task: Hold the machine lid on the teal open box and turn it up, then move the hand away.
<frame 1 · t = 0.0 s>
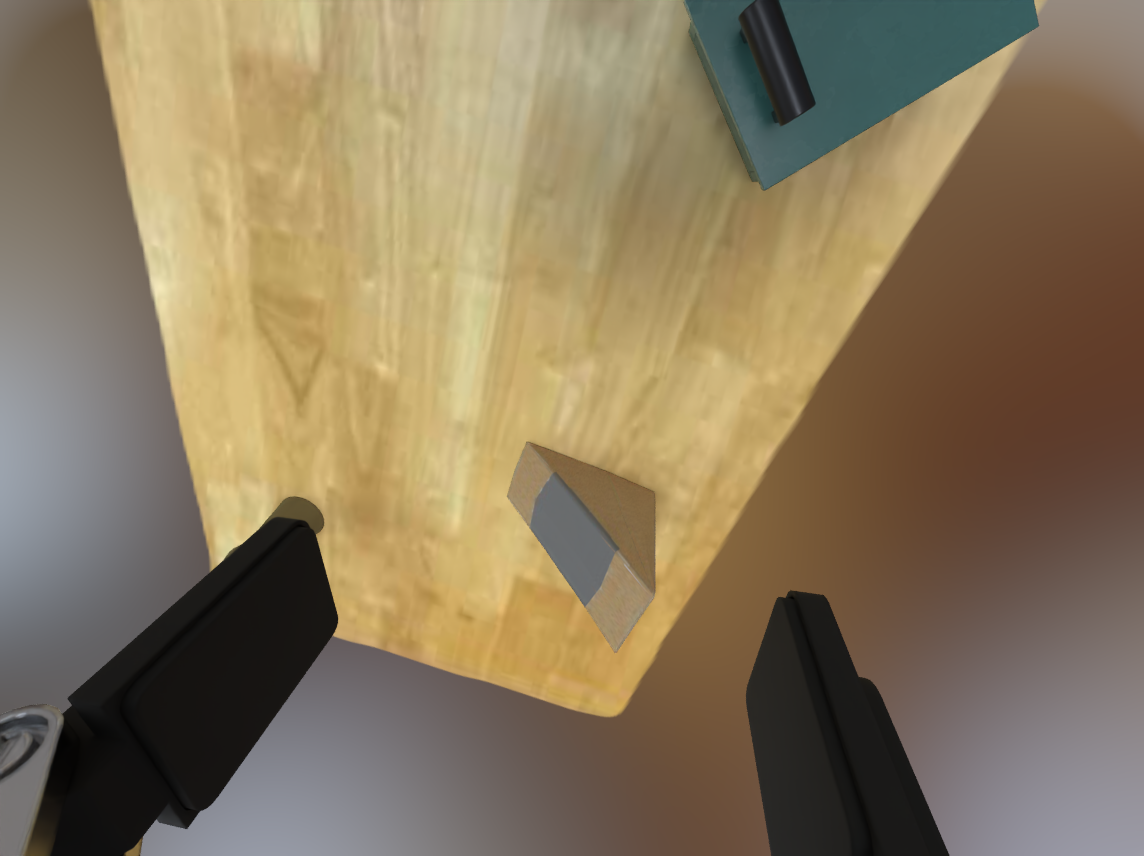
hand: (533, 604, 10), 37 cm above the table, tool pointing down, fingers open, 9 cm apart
machine lid: (869, 0, 24), point 11 cm above the table, hinge at 0.0°
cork: (303, 514, 63), on the table
teal open box: (814, 47, 33), on the table
sandwich container: (578, 493, 54), on the table
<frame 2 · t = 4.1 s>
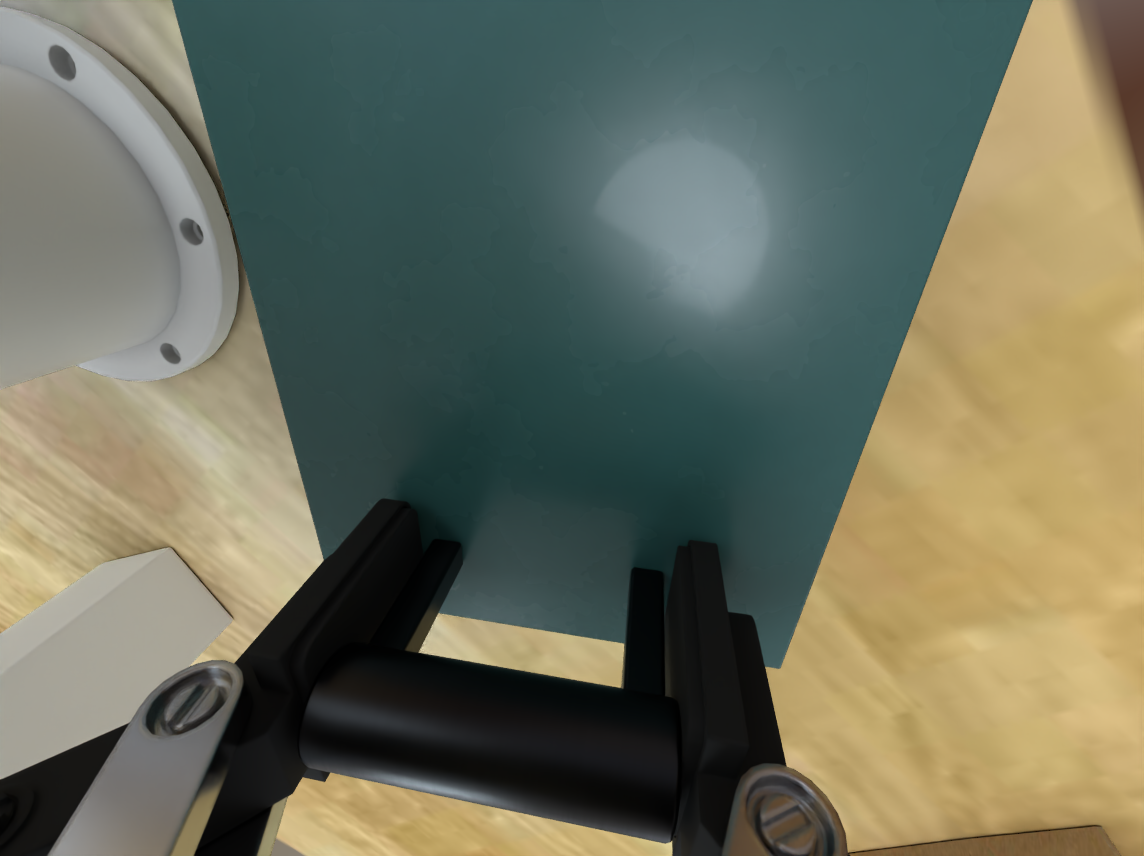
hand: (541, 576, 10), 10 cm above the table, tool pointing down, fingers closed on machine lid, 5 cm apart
machine lid: (521, 393, 7), point 11 cm above the table, hinge at 0.0°, touching gripper
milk: (172, 588, 29), on the table
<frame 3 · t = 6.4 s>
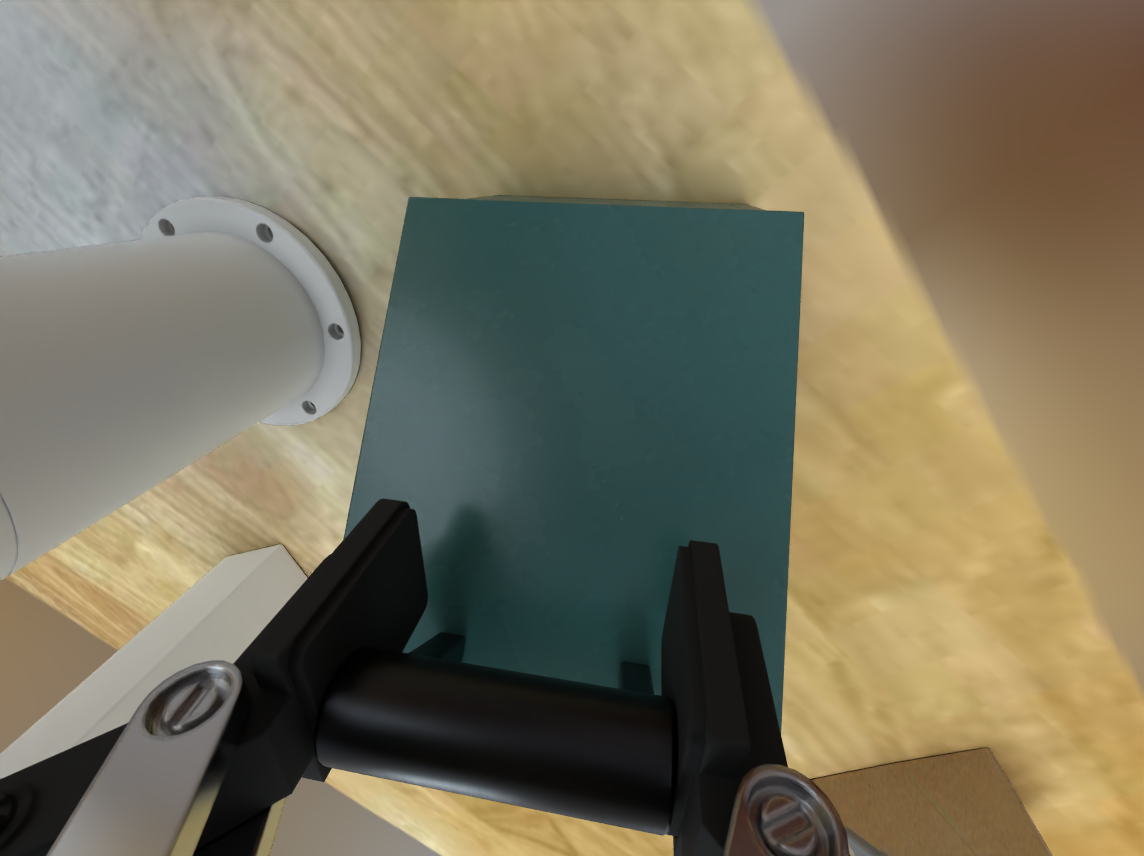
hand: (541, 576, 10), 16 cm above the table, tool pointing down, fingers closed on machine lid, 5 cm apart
machine lid: (554, 446, 10), point 15 cm above the table, hinge at 37.5°, touching gripper
teal open box: (609, 345, 25), on the table
sandwich container: (895, 793, 38), on the table
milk: (277, 576, 38), on the table
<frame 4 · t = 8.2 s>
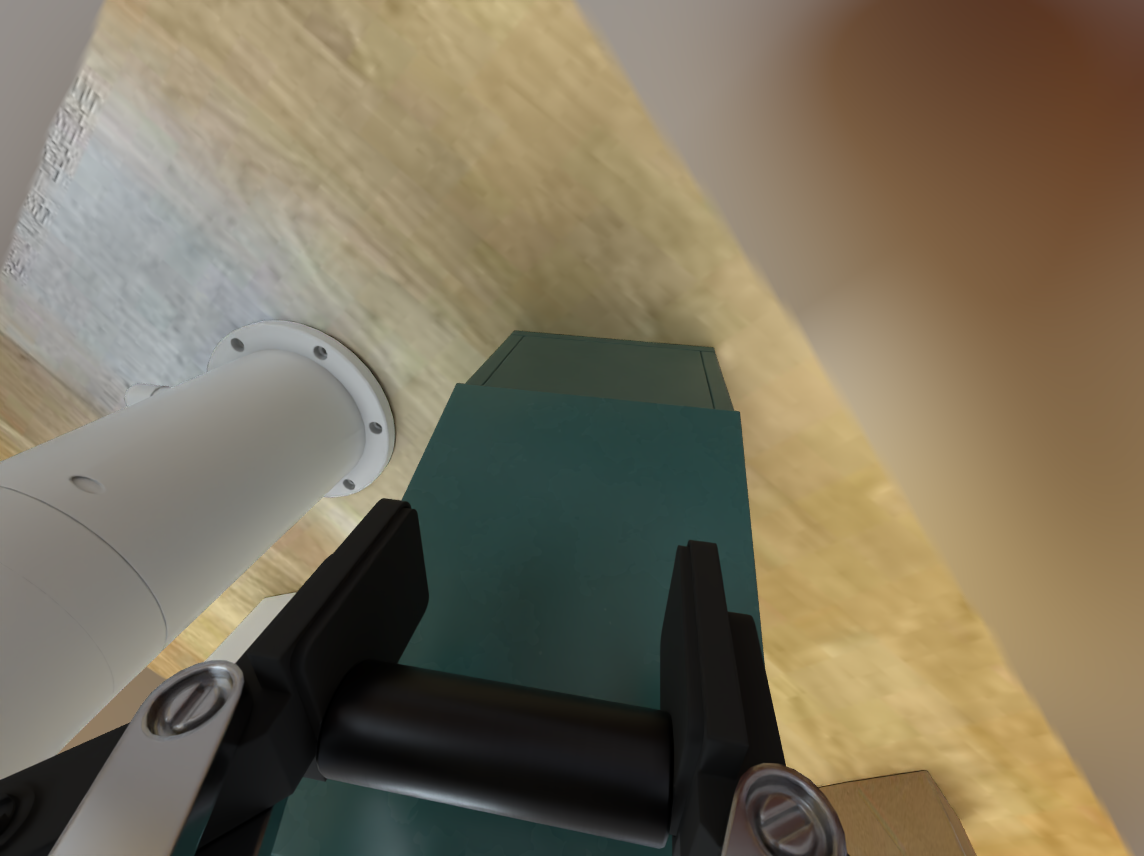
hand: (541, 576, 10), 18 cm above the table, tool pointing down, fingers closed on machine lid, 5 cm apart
machine lid: (558, 534, 13), point 16 cm above the table, hinge at 69.5°, touching gripper
teal open box: (603, 444, 30), on the table
sandwich container: (850, 807, 43), on the table
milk: (309, 615, 43), on the table
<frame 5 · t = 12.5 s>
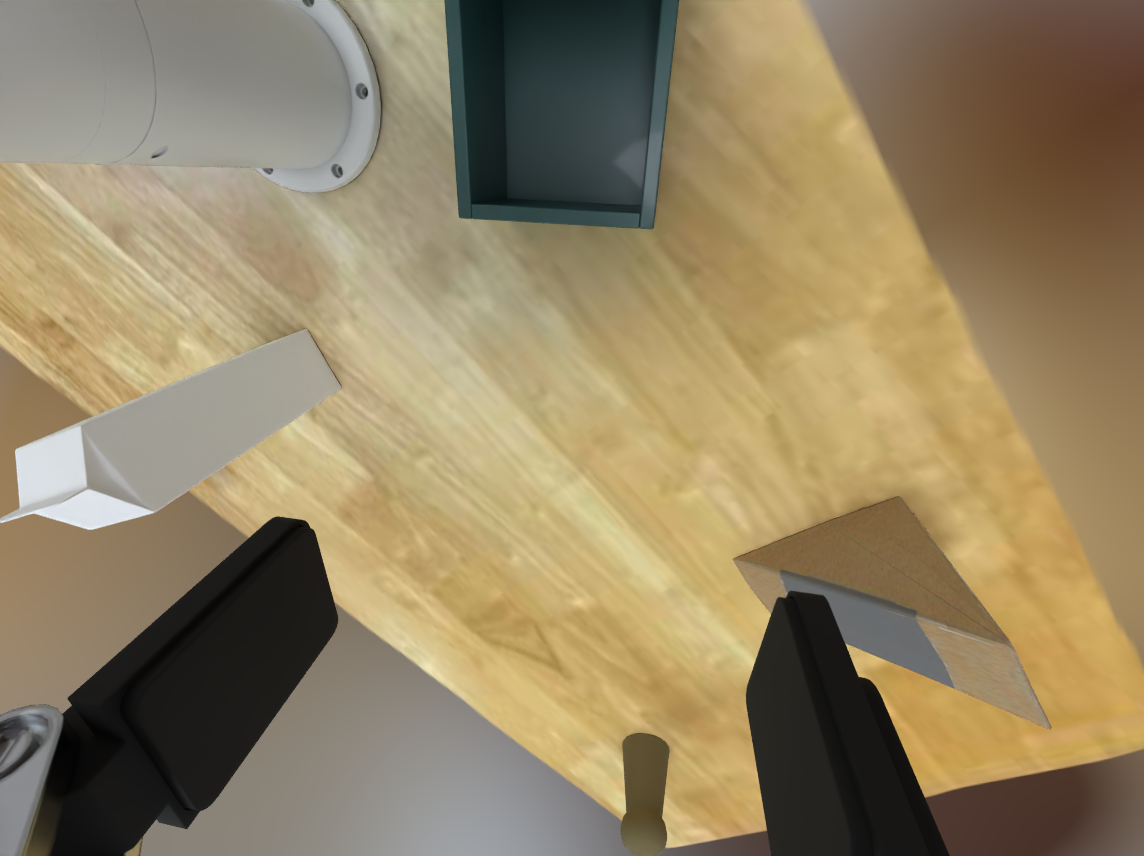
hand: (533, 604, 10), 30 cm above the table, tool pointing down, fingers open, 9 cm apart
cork: (645, 746, 63), on the table
teal open box: (580, 99, 31), on the table
sandwich container: (827, 558, 45), on the table
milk: (301, 367, 44), on the table
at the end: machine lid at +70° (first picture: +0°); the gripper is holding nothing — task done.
